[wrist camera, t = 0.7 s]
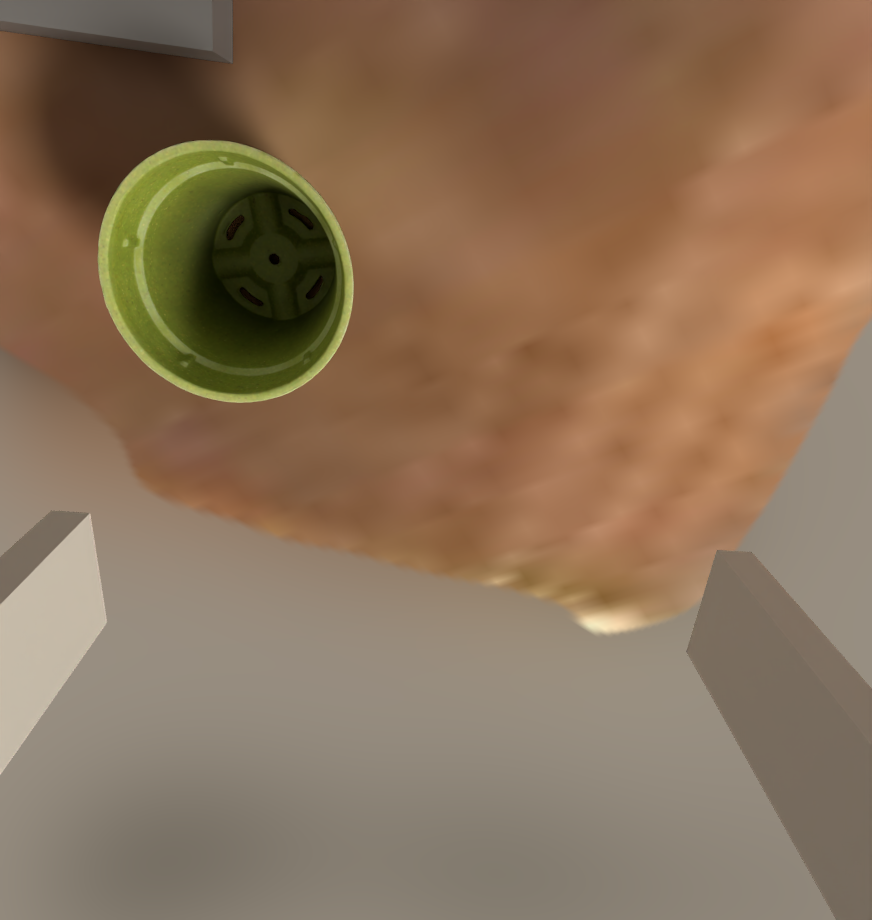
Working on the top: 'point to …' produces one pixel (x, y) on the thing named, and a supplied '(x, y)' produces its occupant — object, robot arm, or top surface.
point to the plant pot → (224, 271)
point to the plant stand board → (130, 24)
